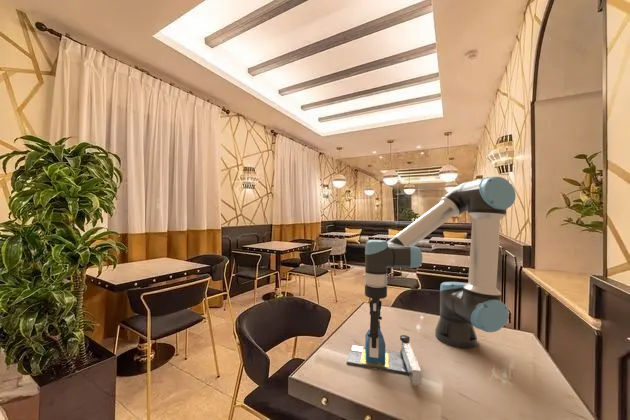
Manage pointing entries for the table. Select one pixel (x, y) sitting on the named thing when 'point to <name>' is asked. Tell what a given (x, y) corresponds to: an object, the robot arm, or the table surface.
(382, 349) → the perfume bottle
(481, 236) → the robot arm
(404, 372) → the tray
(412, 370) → the swing arm
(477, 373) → the table surface
